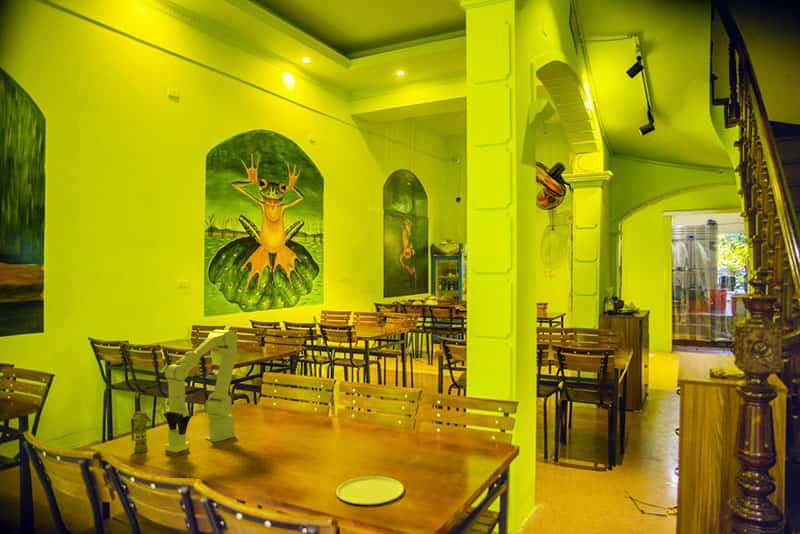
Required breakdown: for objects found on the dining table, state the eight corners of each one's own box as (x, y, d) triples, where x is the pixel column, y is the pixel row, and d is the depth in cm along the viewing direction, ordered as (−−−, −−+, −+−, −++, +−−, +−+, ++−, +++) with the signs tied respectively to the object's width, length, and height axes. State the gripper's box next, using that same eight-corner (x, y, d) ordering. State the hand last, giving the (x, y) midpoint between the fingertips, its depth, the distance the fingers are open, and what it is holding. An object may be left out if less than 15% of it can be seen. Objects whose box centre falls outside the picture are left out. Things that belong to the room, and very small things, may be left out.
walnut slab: (179, 450, 210) (179, 445, 210) (189, 453, 207) (189, 447, 207) (165, 455, 205) (165, 450, 205) (175, 458, 202) (175, 452, 202)
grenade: (142, 454, 205) (141, 414, 205) (126, 453, 207) (125, 413, 207) (154, 447, 212) (153, 409, 212) (139, 446, 214) (138, 408, 214)
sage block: (180, 441, 209) (179, 428, 209) (185, 443, 206) (185, 430, 206) (168, 444, 206) (168, 430, 206) (174, 446, 203) (174, 432, 203)
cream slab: (179, 445, 210) (179, 440, 210) (189, 447, 207) (189, 442, 207) (165, 449, 205) (165, 444, 205) (176, 452, 202) (176, 447, 202)
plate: (418, 495, 164) (418, 491, 164) (358, 514, 152) (358, 510, 152) (380, 474, 181) (379, 470, 181) (323, 490, 169) (323, 486, 169)
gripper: (157, 395, 208) (158, 431, 208) (175, 401, 198) (176, 438, 198) (175, 392, 213) (176, 427, 213) (193, 397, 203) (194, 434, 203)
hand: (177, 432), depth 206 cm, fingers open, 7 cm apart
